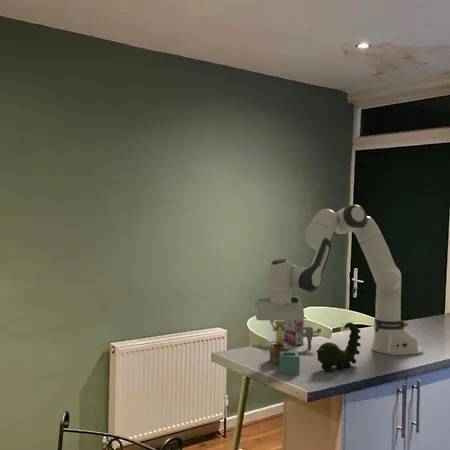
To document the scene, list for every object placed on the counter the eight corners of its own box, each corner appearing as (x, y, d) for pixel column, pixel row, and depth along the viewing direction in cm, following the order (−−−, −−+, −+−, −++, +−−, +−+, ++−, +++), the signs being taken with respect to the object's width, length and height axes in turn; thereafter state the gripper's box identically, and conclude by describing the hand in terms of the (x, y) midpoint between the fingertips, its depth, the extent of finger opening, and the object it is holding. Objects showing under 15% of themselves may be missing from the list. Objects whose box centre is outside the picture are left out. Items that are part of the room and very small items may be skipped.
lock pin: (284, 351, 227) (284, 320, 227) (284, 353, 223) (284, 322, 223) (275, 351, 228) (274, 320, 227) (275, 353, 224) (275, 322, 223)
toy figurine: (346, 364, 229) (306, 369, 213) (349, 320, 230) (309, 322, 214) (364, 369, 222) (324, 375, 206) (367, 323, 222) (327, 326, 207)
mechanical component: (320, 350, 245) (320, 328, 245) (298, 349, 247) (298, 327, 247) (320, 349, 248) (320, 327, 248) (298, 347, 250) (298, 326, 250)
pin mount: (286, 360, 230) (286, 343, 229) (288, 364, 222) (288, 348, 222) (269, 359, 230) (269, 343, 229) (270, 364, 222) (271, 347, 222)
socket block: (297, 368, 216) (297, 351, 216) (299, 374, 209) (299, 356, 209) (279, 368, 217) (279, 351, 216) (280, 374, 209) (281, 356, 209)
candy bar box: (303, 345, 256) (304, 310, 255) (294, 346, 254) (295, 311, 253) (292, 339, 266) (292, 306, 266) (283, 340, 264) (283, 307, 264)
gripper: (255, 299, 222) (255, 332, 222) (304, 299, 222) (304, 332, 222) (254, 296, 228) (254, 329, 229) (302, 296, 228) (302, 329, 228)
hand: (279, 330), depth 225 cm, fingers closed on lock pin, 3 cm apart
